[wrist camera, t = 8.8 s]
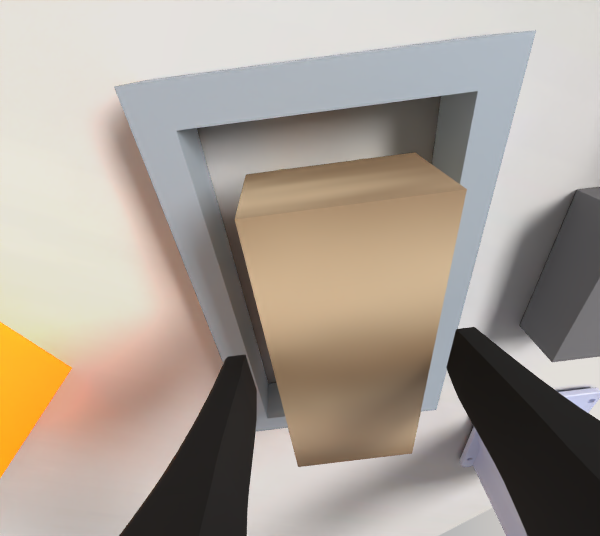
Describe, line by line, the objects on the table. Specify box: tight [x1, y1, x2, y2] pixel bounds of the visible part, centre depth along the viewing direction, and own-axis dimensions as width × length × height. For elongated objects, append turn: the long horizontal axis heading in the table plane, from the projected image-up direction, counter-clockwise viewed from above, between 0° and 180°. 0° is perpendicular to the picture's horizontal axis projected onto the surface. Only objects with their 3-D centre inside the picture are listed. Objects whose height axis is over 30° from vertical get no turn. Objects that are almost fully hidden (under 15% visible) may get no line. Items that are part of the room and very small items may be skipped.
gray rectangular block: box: [520, 187, 600, 362], centre depth 14 cm, size 8×3×2 cm, turn 6°
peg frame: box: [114, 30, 536, 431], centre depth 14 cm, size 17×11×2 cm, turn 6°
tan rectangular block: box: [235, 153, 467, 467], centre depth 11 cm, size 12×5×3 cm, turn 6°
